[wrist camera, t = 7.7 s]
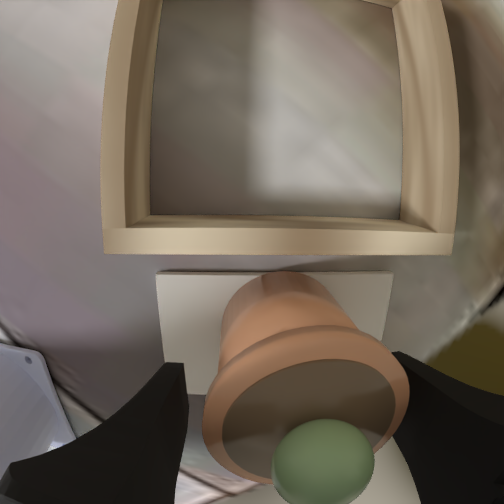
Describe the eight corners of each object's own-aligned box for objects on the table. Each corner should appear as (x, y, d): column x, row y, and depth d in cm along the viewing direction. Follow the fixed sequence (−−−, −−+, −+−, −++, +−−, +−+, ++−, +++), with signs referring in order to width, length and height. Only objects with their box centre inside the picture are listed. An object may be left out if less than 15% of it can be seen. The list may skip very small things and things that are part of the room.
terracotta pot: (216, 381, 13) (208, 552, 5) (211, 263, 12) (173, 428, 4) (336, 376, 14) (405, 522, 5) (351, 262, 12) (493, 382, 4)
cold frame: (132, 235, 12) (104, 253, 9) (150, -22, 9) (134, -58, 6) (411, 238, 13) (451, 254, 10) (403, 1, 10) (433, -25, 7)
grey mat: (170, 388, 14) (169, 393, 13) (157, 271, 12) (155, 274, 12) (368, 380, 14) (370, 384, 14) (389, 271, 13) (393, 273, 13)
